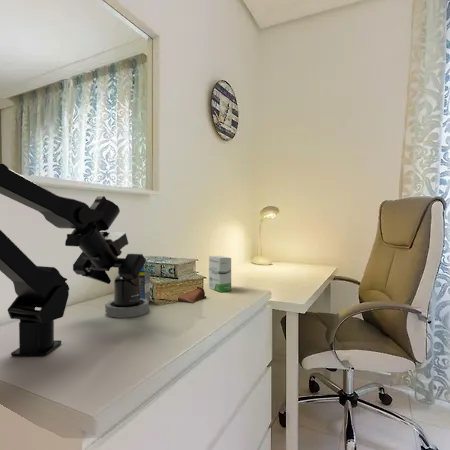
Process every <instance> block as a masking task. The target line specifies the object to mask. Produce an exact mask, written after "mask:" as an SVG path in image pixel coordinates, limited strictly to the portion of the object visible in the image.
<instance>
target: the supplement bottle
mask: <svg viewBox="0 0 450 450" xmlns="http://www.w3.org/2000/svg"><path fill="white" fill-rule="evenodd" d="M117 274H118V276H116V277H115V278H114V283H113V284H114V285H113V287H114V288H113V300H114V307H134V306H138V305H140V278H139V285H138V287H137V286H135V285H133V284H131V283H129V282H127V281H126V280H124V279H123V277H122V276H121V275H120V274H119V268H118V269H117Z"/></svg>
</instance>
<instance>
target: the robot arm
mask: <svg viewBox="0 0 450 450" xmlns="http://www.w3.org/2000/svg"><path fill="white" fill-rule="evenodd" d="M0 195H2V196H5V197H7V198H9V199H11V200H13V201H14V202H15V201H16V202H17V203H20V204H22V205H24V206H26V207H27V208H30V209H32V210H35V211H36V212H38V213H40V214H41V215H42V216H43V217H44V219H45V220H46V221H47V222H48V223H49V224H51V225H53V226H54V227H56V228H58V229H71V230H72V229H73V231H72V232H71V233H67V234H66V239H65V244H64V246H66V247H77V248H79V249H80V250H81V251H82V252H81V253H80V255H79V256H78V257H77V259H76V260H75V262H74V263H73V264H72V271H73V272H74V273H75V275H78V276H79V275H80V276H82V277H86V278H89V279H92V280H96V281H99V282H101V283H105V284H107V285H109V284H110V283H111V282H112V280H111V278H110V277H109V274H107V272H110V270H111V269H112V268H116V269H117V268H119V274H120V275H121V276H122V277H123V279H124V280H126V281H127V282H129V283H131V284H133V285H135V286H137V287H138V285H139V273H140V271H141V269H142V268H143V266H144V267H145V264H146V262H147V260H146V258H145V256H144V254H142V253H126V256H125V258H124V257H122V258H121V257H119V256H121V255H122V249H123V248H124V247H126V246H128V245H129V240H128V237H127V234H126V232H125V231H112V232H111V231H110V232H108V230H109V229H110V228H111V226H112V225H113V223H114V222H115V220H116V218H117V217H118V215H119V214H120V211H121V209H120V208H119V206H118V205H117V204H116V203H115V202H113V201H111V200H110V199H107V198H106V196H104V195H103V196H102V195H101V196H97V197H96V198H95V200H94V201H93V202H92V204H91V206H89V205H88V204H87V203H86V202H84V201H80V200H78V199H74V198H70V197H64V196H61V195H57V194H56V193H53V192H52V191H50V190H48V189H47V188H45V187H43V186H41V185H40V184H37V183H35V182H33V181H32V180H30V179H28V178H27V177H25V176H23V175H22V174H19V173H18V172H15V171H14V170H12V169H10V168H9V167H8V166H7V165H6V164H4V163H2V162H0ZM0 272H1V274H3V275H4V276H6V277H7V278H8V279H9V280H10V281H11V282H12V284H13V287H14V292H15V294H16V295H17V296H16V298H15V299H14V300H13V302H12V303H11V304H10V306H9V307H8V308H7V313H8V315H9V317H10V318H9V319H12V320H19V321H18V327H19V328H18V340H19V341H18V345H19V347H18V348H16V349H15V350H13V351H12V352H10V355H11V356H14V357H15V356H16V357H23V356H25V357H27V356H28V357H34V356H35V357H36V356H37V357H42V356H47V355H48V354H50V353H51V352H52V351H53V350H55V349H56V348H57V347H59V346H60V345H61V344H62V340H55V323H54V322H55V320H57V319H61V318H63V317H64V316H65V315H64V314H65V311H66V306H67V303H68V299H69V293H70V292H69V291H70V287H69V284H68V282H67V281H68V278H66V277H64V276H63V275H62V274H61V272H60V270H58V269H57V268H56V267H55V266H45V265H44V266H42V265H36V264H35V262H33V261H32V260H31V259H30V257H28V255H27V254H25V252H23V251H22V249H20V248H19V247H18V246H17V244H16V243H14V242H13V240H12V239H10V237H8V236H7V234H5V233H4V232H3V231H2V229H0ZM119 274H118V275H119ZM36 308H39V309H36Z"/></svg>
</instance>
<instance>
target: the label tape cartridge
mask: <svg viewBox="0 0 450 450" xmlns="http://www.w3.org/2000/svg"><path fill="white" fill-rule="evenodd" d="M139 278H140V298H141V299H146V300H148V301H149V302H150V301H151V299H150V293H151V274H150V273H148V272H147V271H145V265H144V266H143V268H142V269H141V271H140V273H139Z"/></svg>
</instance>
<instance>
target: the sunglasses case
mask: <svg viewBox="0 0 450 450" xmlns="http://www.w3.org/2000/svg"><path fill="white" fill-rule="evenodd" d="M196 287H197V289H195V290H193V291H190V292H187V293H185V294H182V295H180V296H179V297H178V301H179V302H178V301H177V302H178V303H187V304H195V303H196V302H199V301H200V300H203V299H205V297H206V296H205V295H206V293H205V289H203V287H200V286H196Z"/></svg>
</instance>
